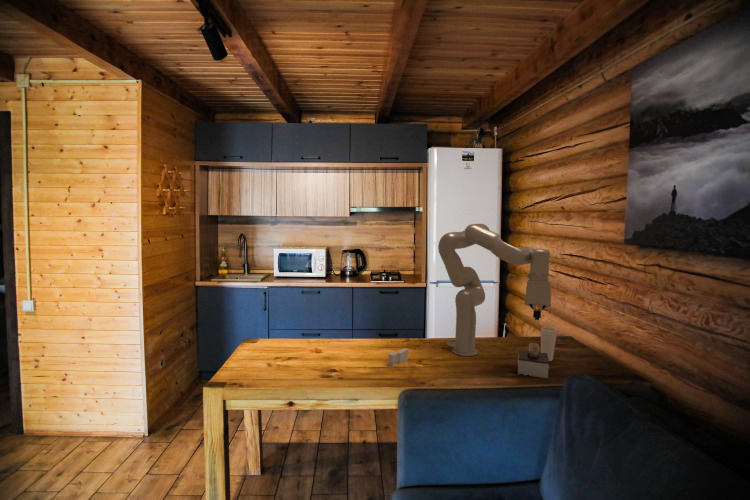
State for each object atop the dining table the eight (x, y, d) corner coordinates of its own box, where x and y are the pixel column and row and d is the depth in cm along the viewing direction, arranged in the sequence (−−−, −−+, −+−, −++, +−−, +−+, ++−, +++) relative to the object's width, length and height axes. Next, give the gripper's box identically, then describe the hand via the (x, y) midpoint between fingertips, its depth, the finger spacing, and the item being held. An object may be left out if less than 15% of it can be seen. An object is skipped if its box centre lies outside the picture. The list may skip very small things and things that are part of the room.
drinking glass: (555, 362, 195) (558, 331, 194) (540, 361, 197) (542, 330, 195) (552, 357, 202) (555, 327, 200) (538, 356, 203) (540, 326, 202)
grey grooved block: (408, 357, 199) (408, 345, 198) (416, 366, 188) (417, 354, 187) (377, 359, 195) (378, 347, 194) (384, 369, 184) (385, 356, 183)
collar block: (517, 374, 181) (518, 358, 180) (517, 364, 192) (518, 349, 191) (547, 378, 177) (548, 362, 176) (546, 368, 188) (547, 353, 187)
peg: (528, 358, 183) (529, 345, 182) (528, 355, 186) (529, 342, 186) (538, 360, 181) (539, 346, 181) (537, 356, 185) (538, 343, 184)
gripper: (520, 277, 179) (518, 319, 181) (558, 280, 174) (556, 323, 176) (520, 275, 186) (518, 315, 188) (557, 277, 181) (554, 319, 183)
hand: (536, 319), depth 182 cm, fingers closed
